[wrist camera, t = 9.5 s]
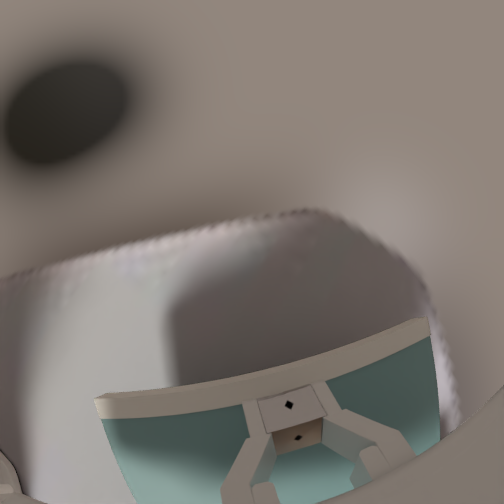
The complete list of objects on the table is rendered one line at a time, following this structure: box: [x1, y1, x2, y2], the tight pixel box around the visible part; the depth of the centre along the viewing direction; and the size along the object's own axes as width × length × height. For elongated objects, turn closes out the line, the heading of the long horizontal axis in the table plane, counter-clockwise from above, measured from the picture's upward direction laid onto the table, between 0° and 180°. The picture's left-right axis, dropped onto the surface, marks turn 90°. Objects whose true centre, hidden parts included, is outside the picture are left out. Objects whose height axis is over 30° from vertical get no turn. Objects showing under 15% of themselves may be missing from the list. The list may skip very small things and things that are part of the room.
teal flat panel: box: [94, 316, 440, 504], centre depth 9 cm, size 16×1×14 cm
